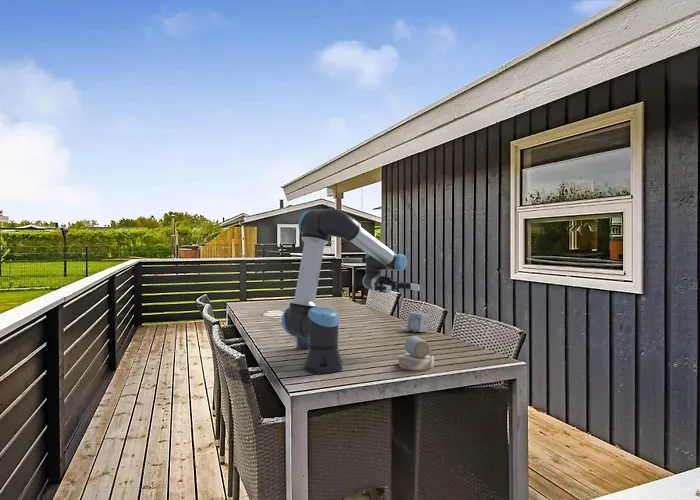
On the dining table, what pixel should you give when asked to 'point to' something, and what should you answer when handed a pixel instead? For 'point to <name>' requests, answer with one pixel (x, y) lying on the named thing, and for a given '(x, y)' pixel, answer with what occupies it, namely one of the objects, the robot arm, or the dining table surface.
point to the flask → (302, 343)
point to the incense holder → (418, 322)
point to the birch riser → (415, 362)
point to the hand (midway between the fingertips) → (404, 288)
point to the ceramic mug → (417, 347)
